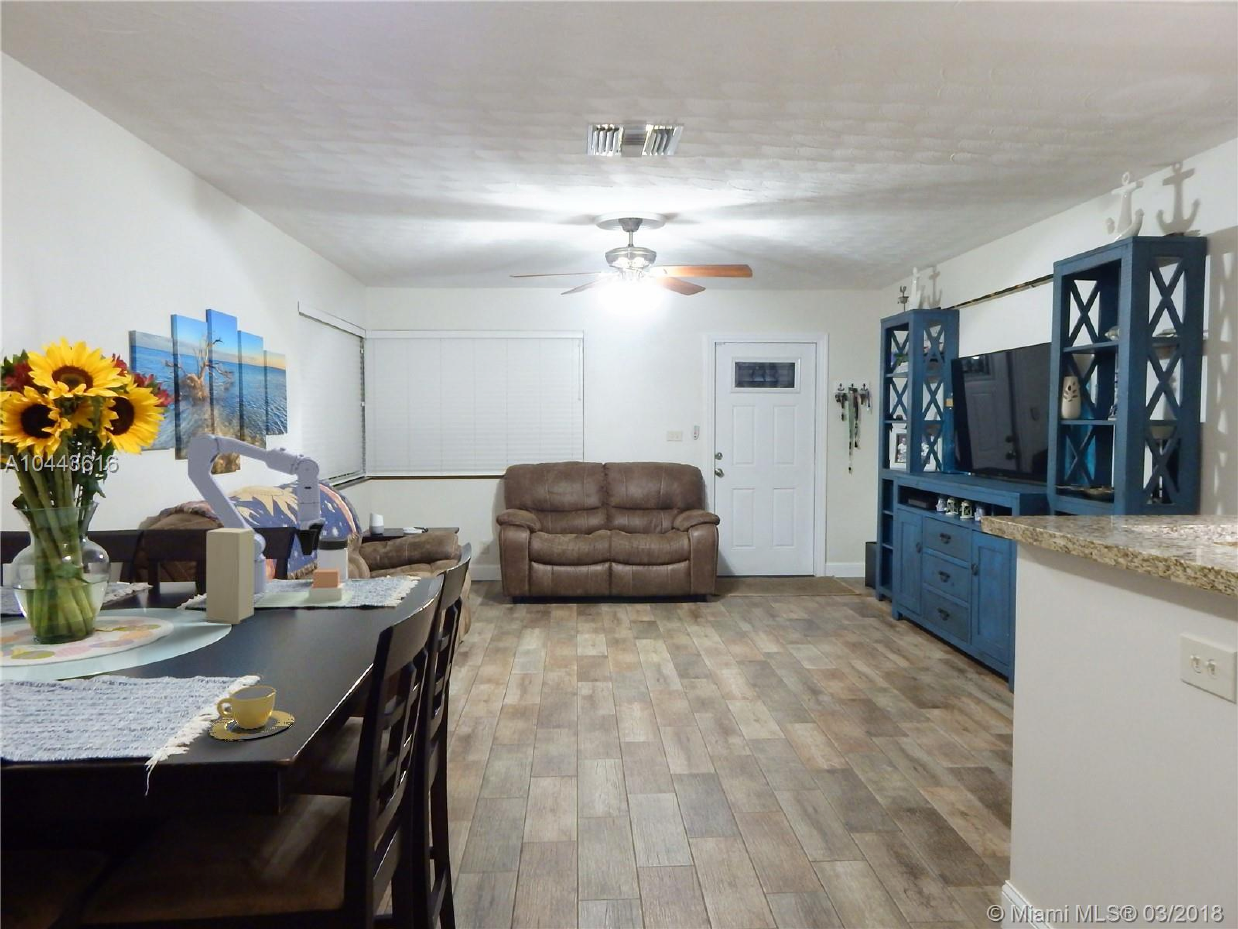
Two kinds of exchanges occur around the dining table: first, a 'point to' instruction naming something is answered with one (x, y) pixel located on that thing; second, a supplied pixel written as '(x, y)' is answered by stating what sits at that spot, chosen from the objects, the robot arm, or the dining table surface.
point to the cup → (249, 711)
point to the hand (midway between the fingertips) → (310, 552)
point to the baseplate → (298, 600)
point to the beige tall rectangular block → (229, 575)
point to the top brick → (326, 578)
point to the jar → (333, 555)
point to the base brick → (327, 593)
